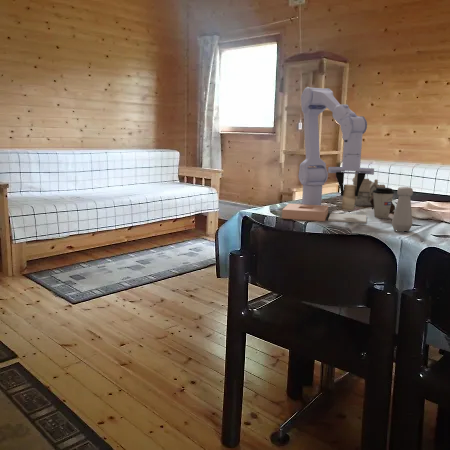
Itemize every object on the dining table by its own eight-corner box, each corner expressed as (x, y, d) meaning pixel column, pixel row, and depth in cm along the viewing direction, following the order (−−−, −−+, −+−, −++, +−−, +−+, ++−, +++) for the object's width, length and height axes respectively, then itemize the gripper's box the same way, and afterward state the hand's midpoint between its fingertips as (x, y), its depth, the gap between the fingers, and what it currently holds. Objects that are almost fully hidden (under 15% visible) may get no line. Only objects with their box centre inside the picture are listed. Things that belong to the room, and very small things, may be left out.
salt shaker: (388, 231, 137) (392, 187, 135) (393, 227, 142) (397, 185, 139) (409, 233, 134) (413, 188, 131) (413, 230, 139) (418, 187, 136)
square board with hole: (288, 211, 168) (288, 203, 167) (327, 214, 164) (328, 205, 163) (282, 218, 155) (282, 209, 154) (324, 221, 151) (325, 212, 150)
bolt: (388, 218, 169) (374, 210, 183) (400, 211, 168) (385, 203, 183) (381, 204, 168) (367, 197, 182) (394, 197, 167) (379, 191, 182)
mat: (330, 214, 163) (330, 213, 163) (366, 216, 159) (366, 215, 159) (328, 220, 152) (328, 219, 151) (366, 223, 148) (366, 221, 148)
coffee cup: (366, 216, 160) (368, 187, 158) (378, 214, 165) (380, 186, 163) (384, 219, 155) (387, 189, 153) (396, 217, 160) (398, 188, 158)
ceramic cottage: (345, 204, 187) (350, 166, 184) (347, 200, 202) (352, 165, 199) (386, 209, 182) (392, 170, 180) (384, 204, 198) (390, 169, 195)
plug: (342, 207, 157) (344, 184, 156) (354, 208, 156) (356, 184, 154) (341, 209, 153) (343, 185, 152) (353, 210, 152) (356, 186, 151)
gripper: (328, 154, 149) (326, 196, 152) (375, 155, 145) (372, 198, 148) (330, 153, 156) (327, 193, 159) (375, 154, 152) (371, 195, 155)
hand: (349, 195), depth 154 cm, fingers closed on plug, 4 cm apart
